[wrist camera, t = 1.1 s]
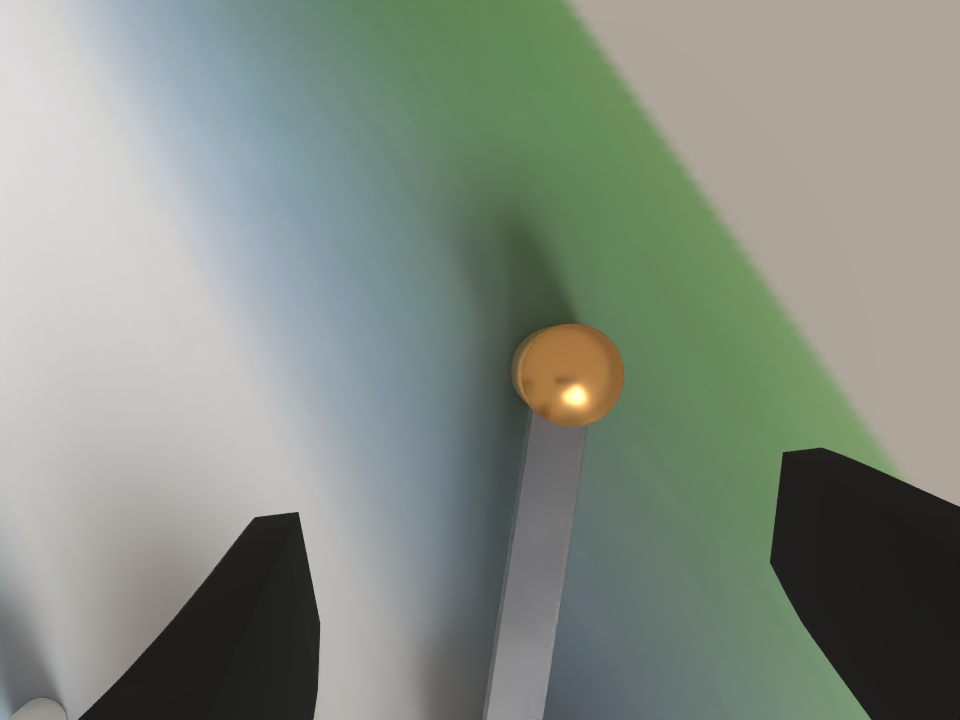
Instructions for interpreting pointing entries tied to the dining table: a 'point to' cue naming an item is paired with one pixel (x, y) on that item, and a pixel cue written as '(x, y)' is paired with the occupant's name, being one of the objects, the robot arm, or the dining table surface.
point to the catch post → (40, 711)
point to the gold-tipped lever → (545, 504)
